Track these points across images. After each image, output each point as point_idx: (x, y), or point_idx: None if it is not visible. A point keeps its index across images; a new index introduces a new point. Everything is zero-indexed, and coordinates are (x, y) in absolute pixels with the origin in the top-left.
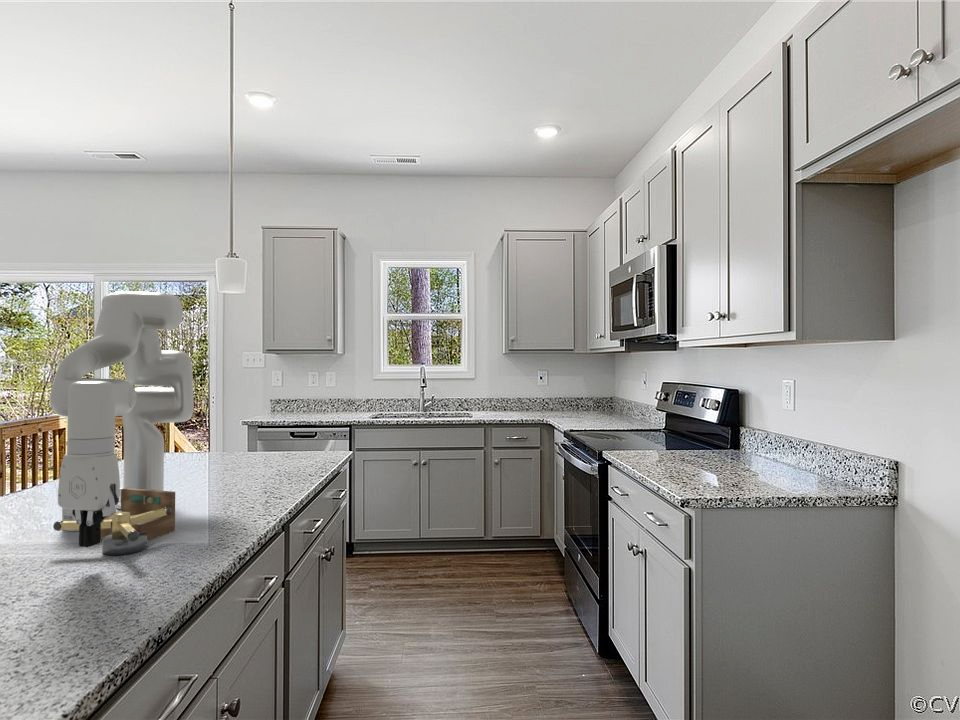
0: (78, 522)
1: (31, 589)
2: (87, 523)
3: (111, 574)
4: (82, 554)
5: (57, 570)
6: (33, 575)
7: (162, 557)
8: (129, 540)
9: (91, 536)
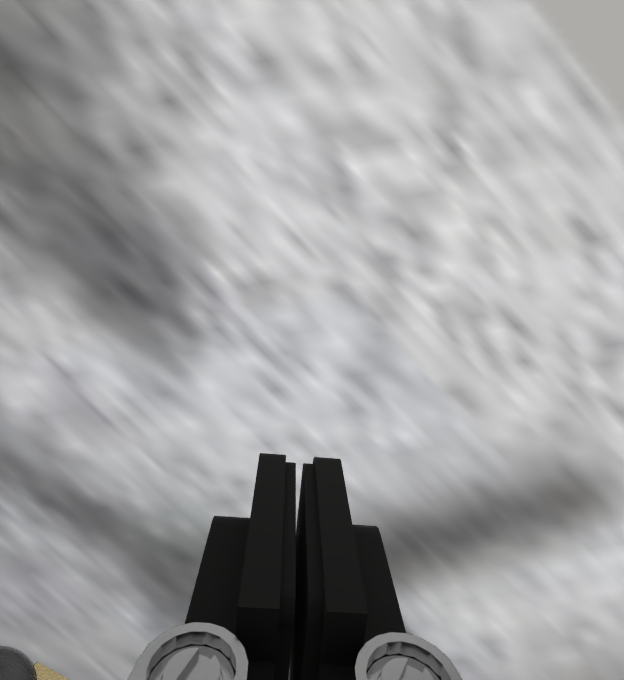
0: (421, 674)
1: (356, 13)
2: (233, 660)
3: (76, 368)
4: (528, 615)
5: (468, 366)
6: (550, 260)
7: (36, 659)
8: (2, 646)
9: (221, 542)
